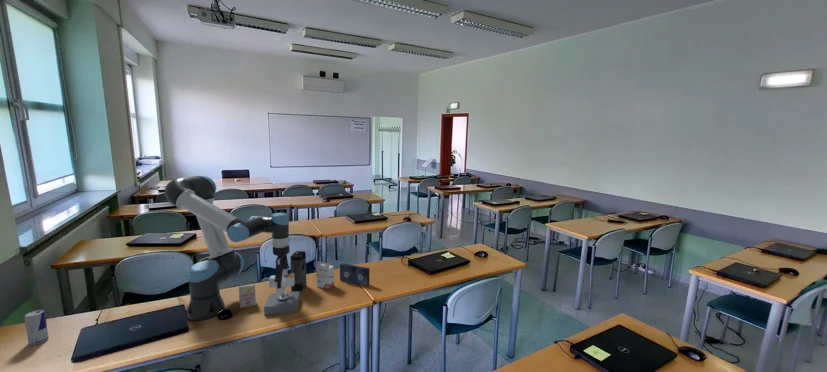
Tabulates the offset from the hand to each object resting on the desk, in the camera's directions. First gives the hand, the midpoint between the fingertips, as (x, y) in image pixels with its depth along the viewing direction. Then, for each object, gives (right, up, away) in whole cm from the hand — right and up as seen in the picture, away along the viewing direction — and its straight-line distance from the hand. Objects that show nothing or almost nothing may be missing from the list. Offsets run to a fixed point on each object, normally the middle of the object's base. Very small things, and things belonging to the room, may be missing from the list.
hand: (282, 287), depth 161 cm
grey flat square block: (0, -10, +1) cm, 10 cm away
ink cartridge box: (+14, -7, +25) cm, 29 cm away
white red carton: (-18, -9, +2) cm, 20 cm away
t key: (0, -6, +1) cm, 6 cm away
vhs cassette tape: (+30, -7, +30) cm, 43 cm away
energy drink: (-85, -12, -30) cm, 91 cm away
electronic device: (+1, -7, +21) cm, 22 cm away
